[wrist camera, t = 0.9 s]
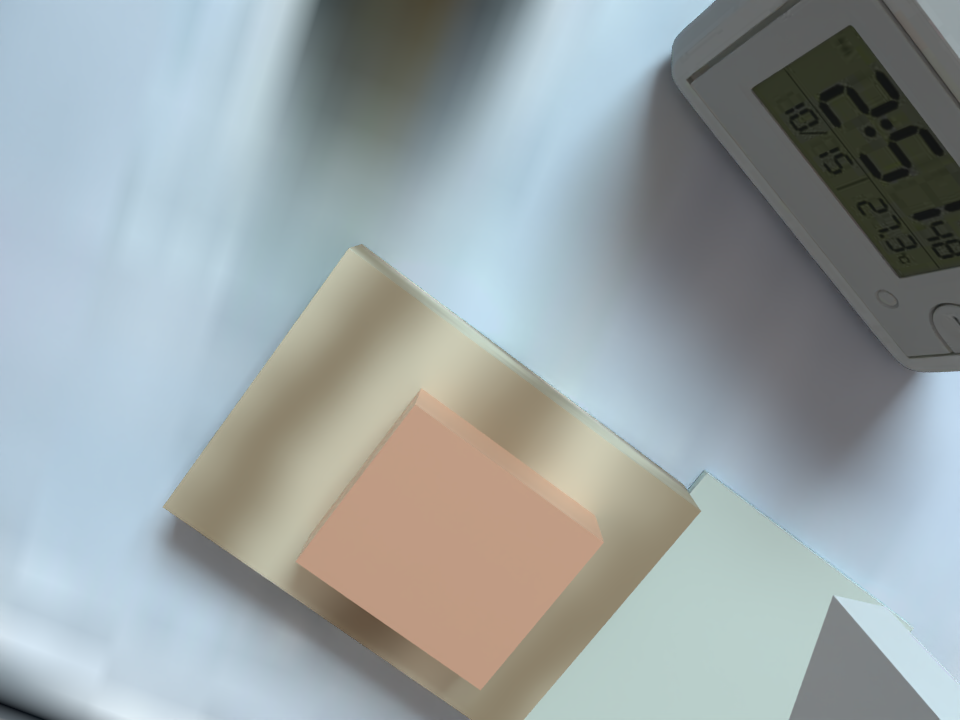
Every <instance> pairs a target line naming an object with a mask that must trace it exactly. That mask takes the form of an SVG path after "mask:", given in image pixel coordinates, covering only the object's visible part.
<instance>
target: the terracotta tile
mask: <svg viewBox="0 0 960 720" xmlns="http://www.w3.org/2000/svg"><path fill="white" fill-rule="evenodd" d="M603 543H604V541H603V538H602V535H601V532H600V528H599V525H598V522H597V519H596V516H595V515H594V514H592V513H591V512H590V511H588V510H587V509H586V508H584V507H583V506H582V505H580V504H579V503H577V502H576V501H575V500H573V499H572V498H571V497H569V496H568V495H567V494H565V493H564V492H562V491H561V490H560V489H558V488H557V487H556V486H554V485H553V484H552V483H550V482H549V481H547V480H546V479H545V478H543V477H542V476H541V475H539V474H538V473H537V472H535V471H534V470H532V469H531V468H530V467H528V466H527V465H526V464H524V463H523V462H522V461H520V460H519V459H517V458H516V457H515V456H513V455H512V454H511V453H509V452H508V451H507V450H505V449H504V448H502V447H501V446H500V445H498V444H497V443H496V442H494V441H493V440H492V439H490V438H489V437H487V436H486V435H485V434H483V433H482V432H481V431H479V430H478V429H477V428H475V427H474V426H472V425H471V424H470V423H468V422H467V421H466V420H464V419H463V418H461V417H460V416H459V415H457V414H456V413H455V412H453V411H452V410H451V409H449V408H448V407H446V406H445V405H444V404H442V403H441V402H440V401H438V400H437V399H436V398H434V397H433V396H431V395H430V394H429V393H427V392H426V391H425V390H423V389H422V388H421V389H420V391H419V392H418V393H417V394H416V396H415V397H414V398H413V400H412V401H411V402H410V404H409V405H408V406H407V408H406V409H405V410H404V412H403V413H402V414H401V416H400V417H399V418H398V420H397V421H396V422H395V423H394V425H393V426H392V427H391V429H390V430H389V431H388V433H387V434H386V435H385V437H384V438H383V439H382V441H381V442H380V443H379V445H378V446H377V447H376V448H375V450H374V451H373V452H372V454H371V455H370V456H369V458H368V459H367V460H366V462H365V463H364V464H363V466H362V467H361V468H360V470H359V471H358V472H357V473H356V475H355V476H354V477H353V479H352V480H351V481H350V483H349V484H348V485H347V487H346V488H345V489H344V491H343V492H342V493H341V495H340V496H339V497H338V499H337V500H336V501H335V502H334V504H333V505H332V506H331V508H330V509H329V510H328V512H327V513H326V514H325V516H324V517H323V518H322V520H321V521H320V522H319V524H318V525H317V526H316V527H315V529H314V530H313V531H312V533H311V534H310V536H309V538H308V540H307V541H306V543H305V545H304V547H303V549H302V551H301V552H300V554H299V556H298V558H297V560H296V562H297V563H298V564H299V565H301V566H302V567H304V568H305V569H307V570H308V571H309V572H311V573H312V574H314V575H315V576H317V577H318V578H320V579H321V580H322V581H324V582H325V583H327V584H328V585H330V586H331V587H332V588H334V589H335V590H337V591H338V592H340V593H341V594H343V595H344V596H345V597H347V598H348V599H350V600H351V601H353V602H354V603H356V604H357V605H358V606H360V607H361V608H363V609H364V610H366V611H367V612H368V613H370V614H371V615H373V616H374V617H376V618H377V619H379V620H380V621H381V622H383V623H384V624H386V625H387V626H389V627H390V628H391V629H393V630H394V631H396V632H397V633H399V634H400V635H402V636H403V637H404V638H406V639H407V640H409V641H410V642H412V643H413V644H415V645H416V646H417V647H419V648H420V649H422V650H423V651H425V652H426V653H427V654H429V655H430V656H432V657H433V658H435V659H436V660H438V661H439V662H440V663H442V664H443V665H445V666H446V667H448V668H449V669H450V670H452V671H453V672H455V673H456V674H458V675H459V676H461V677H462V678H463V679H465V680H466V681H468V682H469V683H471V684H472V685H474V686H475V687H476V688H478V689H479V690H481V689H482V688H483V687H484V686H485V685H486V683H487V682H488V681H489V680H490V679H491V677H492V676H493V675H494V674H495V673H496V671H497V670H498V669H499V668H500V667H501V665H502V664H503V663H504V662H505V661H506V659H507V658H508V657H509V656H510V655H511V653H512V652H513V651H514V650H515V649H516V647H517V646H518V645H519V644H520V643H521V641H522V640H523V639H524V638H525V637H526V635H527V634H528V633H529V632H530V631H531V629H532V628H533V627H534V626H535V625H536V623H537V622H538V621H539V620H540V619H541V617H542V616H543V615H544V614H545V613H546V611H547V610H548V609H549V608H550V607H551V605H552V604H553V603H554V602H555V601H556V599H557V598H558V597H559V596H560V595H561V593H562V592H563V591H564V590H565V589H566V587H567V586H568V585H569V584H570V583H571V581H572V580H573V579H574V578H575V577H576V575H577V574H578V573H579V572H580V571H581V569H582V568H583V567H584V566H585V565H586V563H587V562H588V561H589V560H590V559H591V557H592V556H593V555H594V554H595V553H596V551H597V550H598V549H599V548H600V547H601V545H602V544H603Z"/></svg>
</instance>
